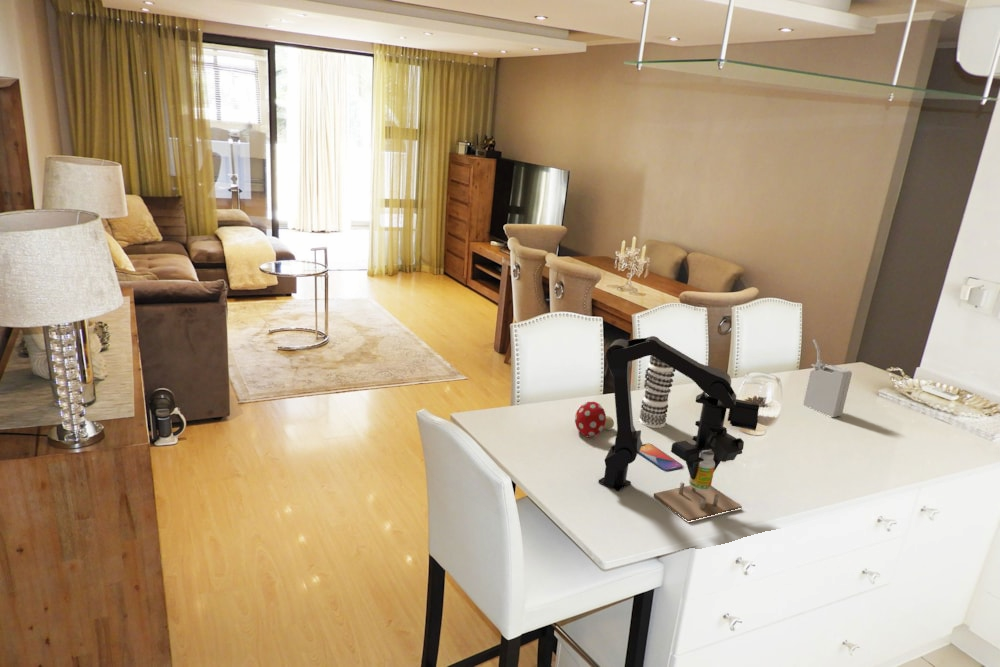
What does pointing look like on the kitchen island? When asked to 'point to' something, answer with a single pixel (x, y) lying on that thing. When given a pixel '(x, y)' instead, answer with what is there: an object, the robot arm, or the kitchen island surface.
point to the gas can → (827, 387)
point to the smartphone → (659, 458)
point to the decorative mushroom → (592, 419)
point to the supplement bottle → (704, 472)
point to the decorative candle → (656, 393)
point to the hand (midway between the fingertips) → (701, 477)
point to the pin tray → (696, 502)
